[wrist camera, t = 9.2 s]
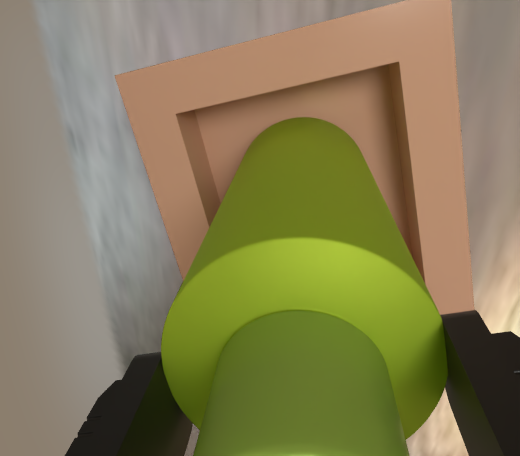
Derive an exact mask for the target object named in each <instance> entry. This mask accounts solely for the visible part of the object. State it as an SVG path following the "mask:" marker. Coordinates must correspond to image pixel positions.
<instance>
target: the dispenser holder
mask: <svg viewBox="0 0 520 456" xmlns="http://www.w3.org/2000/svg"><path fill="white" fill-rule="evenodd" d="M115 79H116V82H117V84H118V87H119V90H120V93H121V96H122V99H123V102H124V105H125V108H126V111H127V114H128V117H129V120H130V123H131V126H132V129H133V132H134V135H135V138H136V141H137V144H138V147H139V150H140V153H141V156H142V159H143V162H144V165H145V168H146V171H147V174H148V177H149V180H150V183H151V186H152V189H153V192H154V195H155V198H156V201H157V204H158V207H159V210H160V213H161V216H162V219H163V222H164V225H165V228H166V231H167V234H168V237H169V240H170V243H171V246H172V249H173V252H174V255H175V258H176V261H177V264H178V267H179V270H180V273H181V275H182V278H183V281H184V279H185V277H186V275H187V273H188V271H189V269H190V267H191V264H192V262H193V260H194V258H195V256H196V254H197V252H198V250H199V248H200V246H201V244H202V242H203V240H204V238H205V236H206V234H207V231H208V229H209V227H210V225H211V223H212V221H213V219H214V217H215V215H216V213H217V211H218V209H219V207H220V205H221V203H222V201H223V199H224V196H225V194H226V192H227V190H228V188H229V186H230V184H231V182H232V180H233V178H234V176H235V174H236V172H237V170H238V168H239V166H240V164H241V161H242V159H243V157H244V155H245V153H246V151H247V149H248V148H249V146H250V145H251V143H252V142H253V141H254V140H255V138H256V137H257V136H258V135H259V134H260V133H262V132H263V131H264V130H265V129H267V128H268V127H270V126H272V125H274V124H276V123H278V122H280V121H283V120H286V119H290V118H297V117H311V118H318V119H322V120H325V121H328V122H330V123H332V124H334V125H336V126H338V127H339V128H341V129H342V130H344V131H345V132H346V133H347V134H348V135H349V136H350V137H351V138H352V139H353V140H354V141H355V143H356V144H357V146H358V147H359V149H360V151H361V153H362V155H363V157H364V159H365V161H366V163H367V165H368V167H369V169H370V171H371V173H372V175H373V177H374V179H375V181H376V184H377V186H378V188H379V190H380V192H381V194H382V196H383V198H384V200H385V202H386V204H387V206H388V208H389V210H390V212H391V214H392V217H393V219H394V221H395V223H396V225H397V227H398V229H399V231H400V233H401V235H402V237H403V239H404V241H405V243H406V245H407V247H408V249H409V252H410V254H411V256H412V258H413V260H414V262H415V264H416V266H417V268H418V270H419V272H420V274H421V276H422V278H423V280H424V282H425V285H426V287H427V289H428V291H429V293H430V295H431V297H432V299H433V301H434V303H435V305H436V307H437V309H438V311H439V314H440V315H442V314H449V313H456V312H464V311H471V310H474V298H473V285H472V272H471V258H470V245H469V232H468V219H467V205H466V192H465V179H464V165H463V152H462V139H461V126H460V112H459V99H458V86H457V73H456V59H455V46H454V33H453V20H452V6H451V0H406V1H402V2H398V3H395V4H391V5H387V6H383V7H379V8H375V9H371V10H367V11H363V12H360V13H356V14H352V15H348V16H344V17H340V18H336V19H332V20H328V21H325V22H321V23H317V24H313V25H309V26H305V27H301V28H297V29H294V30H290V31H286V32H282V33H278V34H274V35H270V36H266V37H262V38H259V39H255V40H251V41H247V42H243V43H239V44H235V45H231V46H228V47H224V48H220V49H216V50H212V51H208V52H204V53H200V54H196V55H193V56H189V57H185V58H181V59H177V60H173V61H169V62H165V63H161V64H158V65H154V66H150V67H146V68H142V69H138V70H134V71H130V72H127V73H123V74H119V75H115Z"/></svg>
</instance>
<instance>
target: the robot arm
mask: <svg viewBox="0 0 520 456" xmlns="http://www.w3.org/2000/svg"><path fill="white" fill-rule="evenodd" d="M440 316H441V318H442V322H443V329H444V338H445V347H446V357H447V367H448V377H447V381H446V385H445V388H446V392H447V396H448V400H449V403H450V406H451V409H452V411H453V414H454V417H455V419H456V422H457V425H458V427H459V430H460V433H461V435H462V438H463V441H464V443H465V446H466V449H467V451H468V454H469V456H520V337H518V336H517V335H515V334H514V333H512V332H511V331H510V332H502V333H494V334H491V333H490V331H489V330H488V328H487V326H486V325H485V323H484V321H483V320H482V318H481V316H480V315H479V313H478V312H477V311H476V310H471V311H464V312H456V313H449V314H442V315H440ZM192 424H193V423H192V422H191V421H190V420H189V419H188V417H187V416H186V415H185V414H184V412H183V411H182V410H181V408H180V407H179V405H178V404H177V402H176V400H175V399H174V397H173V395H172V392H171V390H170V387H169V385H168V382H167V379H166V377H165V374H164V370H163V365H162V357H161V352H157V353H150V354H142V355H137V356H135V357H134V358H133V360H132V362H131V364H130V366H129V367H128V369H127V371H126V373H125V375H124V377H123V379H122V380H117V381H115V382H114V383H113V384H112V385H111V386H110V387H109V388H108V389H107V390H106V391H105V392H104V393H103V394H102V395H101V396H100V397H99V398H98V399H97V401H96V403H95V404H94V406H93V408H92V410H91V411H90V413H89V415H88V416H87V421H85V422H84V423H83V425H82V427H81V429H80V430H79V432H78V437H77V438H75V439H74V441H73V442H72V444H71V446H70V448H69V449H68V451H67V453H66V454H65V456H184V454H185V451H186V448H187V444H188V441H189V438H190V434H191V430H192Z"/></svg>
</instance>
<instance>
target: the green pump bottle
mask: <svg viewBox="0 0 520 456" xmlns="http://www.w3.org/2000/svg"><path fill="white" fill-rule="evenodd" d="M161 357H162V365H163V370H164V374H165V377H166V379H167V382H168V385H169V387H170V390H171V392H172V395H173V397H174V399H175V400H176V402H177V404H178V405H179V407H180V408H181V410H182V411H183V412H184V414H185V415H186V416H187V417H188V419H189V420H190V421H191V422H192V423H193V424H194V425H195V426H196V427H197V428H198V429H199V430H200V432H199V436H198V440H197V443H196V447H195V451H194V455H193V456H409V452H408V448H407V444H406V439H408V438H409V437H410V436H411V435H412V434H414V433H415V432H416V431H417V430H418V429H419V428H420V427H421V426H422V425H423V424H424V422H425V421H426V420H427V419H428V417H429V416H430V415H431V413H432V412H433V410H434V409H435V407H436V406H437V404H438V402H439V400H440V398H441V396H442V393H443V391H444V388H445V385H446V381H447V377H448V367H447V357H446V347H445V338H444V329H443V322H442V318H441V316H440V314H439V311H438V309H437V307H436V305H435V303H434V301H433V299H432V297H431V295H430V293H429V291H428V289H427V287H426V285H425V282H424V280H423V278H422V276H421V274H420V272H419V270H418V268H417V266H416V264H415V262H414V260H413V258H412V256H411V254H410V252H409V249H408V247H407V245H406V243H405V241H404V239H403V237H402V235H401V233H400V231H399V229H398V227H397V225H396V223H395V221H394V219H393V217H392V214H391V212H390V210H389V208H388V206H387V204H386V202H385V200H384V198H383V196H382V194H381V192H380V190H379V188H378V186H377V184H376V181H375V179H374V177H373V175H372V173H371V171H370V169H369V167H368V165H367V163H366V161H365V159H364V157H363V155H362V153H361V151H360V149H359V147H358V146H357V144H356V143H355V141H354V140H353V139H352V138H351V137H350V136H349V135H348V134H347V133H346V132H345V131H344V130H342V129H341V128H339V127H338V126H336V125H334V124H332V123H330V122H328V121H325V120H322V119H318V118H311V117H297V118H290V119H286V120H283V121H280V122H278V123H276V124H274V125H272V126H270V127H268V128H267V129H265V130H264V131H263V132H262V133H260V134H259V135H258V136H257V137H256V138H255V140H254V141H253V142H252V143H251V145H250V146H249V148H248V149H247V151H246V153H245V155H244V157H243V159H242V161H241V164H240V166H239V168H238V170H237V172H236V174H235V176H234V178H233V180H232V182H231V184H230V186H229V188H228V190H227V192H226V194H225V196H224V199H223V201H222V203H221V205H220V207H219V209H218V211H217V213H216V215H215V217H214V219H213V221H212V223H211V225H210V227H209V229H208V231H207V234H206V236H205V238H204V240H203V242H202V244H201V246H200V248H199V250H198V252H197V254H196V256H195V258H194V260H193V262H192V264H191V267H190V269H189V271H188V273H187V275H186V277H185V279H184V281H183V283H182V285H181V287H180V289H179V291H178V293H177V295H176V297H175V299H174V302H173V304H172V306H171V308H170V310H169V312H168V315H167V318H166V321H165V324H164V328H163V333H162V342H161Z"/></svg>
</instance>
